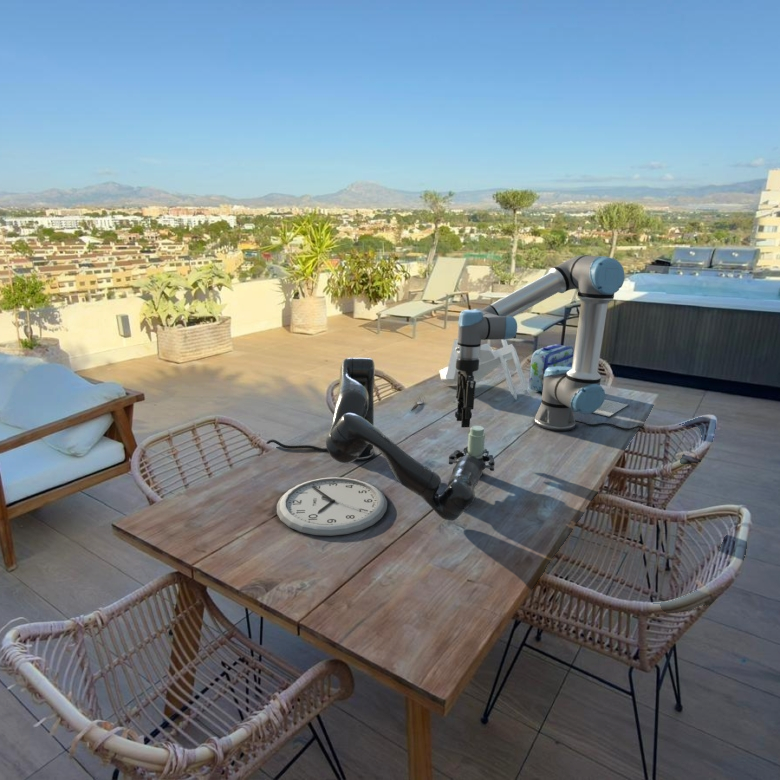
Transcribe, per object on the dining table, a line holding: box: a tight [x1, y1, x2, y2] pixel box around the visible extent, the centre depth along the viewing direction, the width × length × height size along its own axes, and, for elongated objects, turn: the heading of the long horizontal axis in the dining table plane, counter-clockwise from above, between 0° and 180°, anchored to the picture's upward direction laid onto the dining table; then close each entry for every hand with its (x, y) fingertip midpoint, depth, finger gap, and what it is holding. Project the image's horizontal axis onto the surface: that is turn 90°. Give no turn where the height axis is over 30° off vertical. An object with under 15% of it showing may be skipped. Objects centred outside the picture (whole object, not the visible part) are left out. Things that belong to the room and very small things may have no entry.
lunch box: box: [528, 344, 574, 393], centre depth 247 cm, size 26×11×21 cm, turn 134°
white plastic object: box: [438, 338, 531, 400], centre depth 245 cm, size 37×45×31 cm
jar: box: [467, 425, 486, 477], centre depth 160 cm, size 5×5×15 cm
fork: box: [410, 395, 425, 412], centre depth 222 cm, size 3×16×2 cm, turn 160°
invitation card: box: [592, 399, 629, 418], centre depth 226 cm, size 21×1×15 cm
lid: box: [454, 409, 473, 420], centre depth 178 cm, size 6×6×2 cm
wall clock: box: [276, 476, 388, 537], centre depth 142 cm, size 30×2×30 cm
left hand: (476, 450), depth 163 cm, fingers closed on jar, 5 cm apart
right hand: (462, 423), depth 179 cm, fingers closed on lid, 5 cm apart
